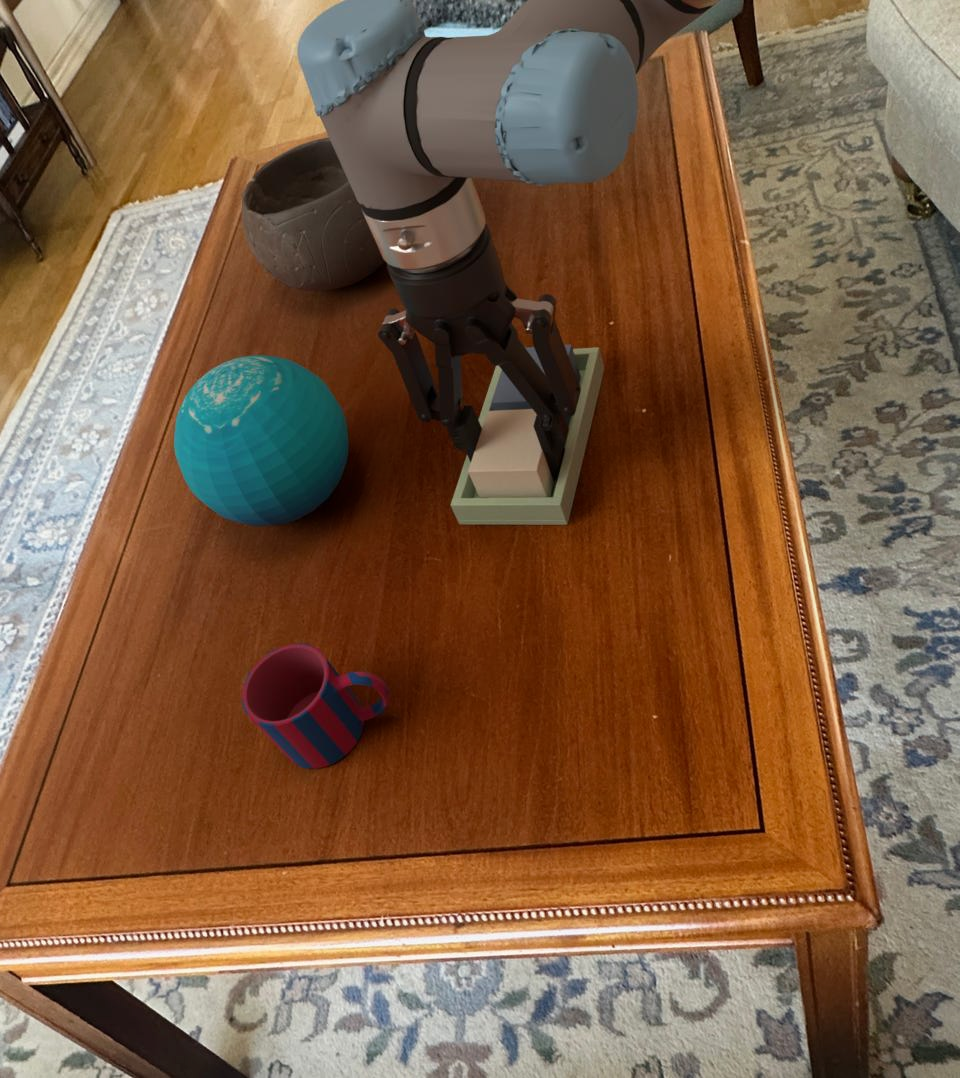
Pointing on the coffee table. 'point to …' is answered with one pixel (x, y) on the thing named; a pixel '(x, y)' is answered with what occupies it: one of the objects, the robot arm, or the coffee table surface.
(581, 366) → the tray
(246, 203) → the bowl
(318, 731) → the mug
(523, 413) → the beige block
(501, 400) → the blue rectangular block
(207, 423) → the decorative orb
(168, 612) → the coffee table surface
